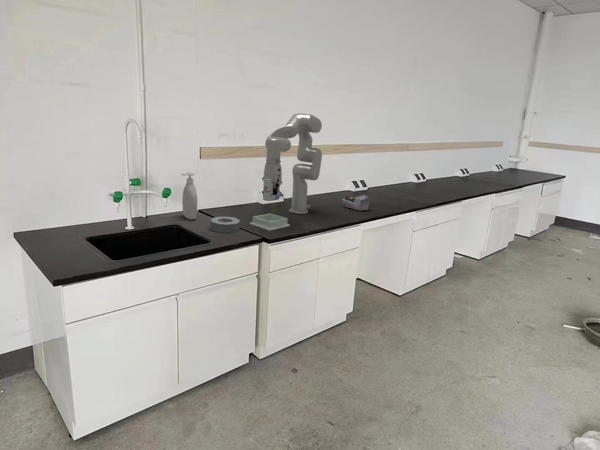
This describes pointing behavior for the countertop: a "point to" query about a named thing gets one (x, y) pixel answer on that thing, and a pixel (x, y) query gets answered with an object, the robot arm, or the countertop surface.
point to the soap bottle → (189, 198)
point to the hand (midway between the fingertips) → (271, 193)
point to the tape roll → (225, 224)
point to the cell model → (356, 202)
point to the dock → (269, 222)
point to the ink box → (269, 191)
